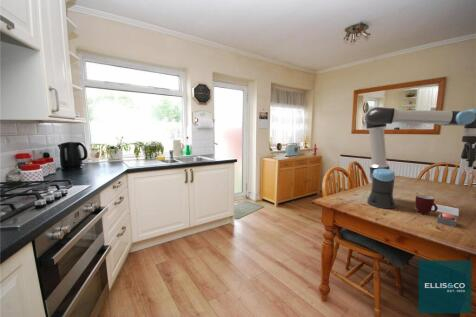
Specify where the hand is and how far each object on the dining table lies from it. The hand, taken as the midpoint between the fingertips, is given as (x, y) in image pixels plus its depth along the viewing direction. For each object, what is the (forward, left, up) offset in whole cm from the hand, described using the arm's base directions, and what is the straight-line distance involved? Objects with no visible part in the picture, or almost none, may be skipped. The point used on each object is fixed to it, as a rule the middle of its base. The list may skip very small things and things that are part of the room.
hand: (465, 170), depth 124 cm
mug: (-22, -17, -25) cm, 38 cm away
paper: (-8, -4, -25) cm, 27 cm away
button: (-17, -28, -23) cm, 40 cm away
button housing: (-17, -28, -25) cm, 41 cm away
